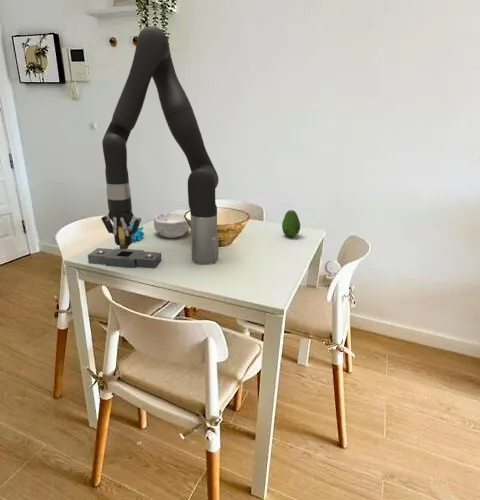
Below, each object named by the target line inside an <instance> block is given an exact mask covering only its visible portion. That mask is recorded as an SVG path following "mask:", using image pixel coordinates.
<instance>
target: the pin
mask: <svg viewBox="0 0 480 500" xmlns="http://www.w3.org/2000/svg"><path fill="white" fill-rule="evenodd" d="M117 227H118V237H119V245H118V246H119V249H130V248H129V247H130V246H126V237H125V236H126V234H125V230H124V229H123V226H117Z"/></svg>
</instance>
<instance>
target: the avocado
mask: <svg viewBox="0 0 480 500" xmlns="http://www.w3.org/2000/svg"><path fill="white" fill-rule="evenodd" d="M281 225H282V226H281V227H282V228H281V229H282V233H283V234H284V236H286V237H287V238H294V237H296V236H297V235H298V234H299V232H300V230H301V223H300V219H299V216H298V214H297V212H296V211H295V210H293V209H292V210H287V211H286V213H285V214H284V217H283V220H282V223H281Z"/></svg>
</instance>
